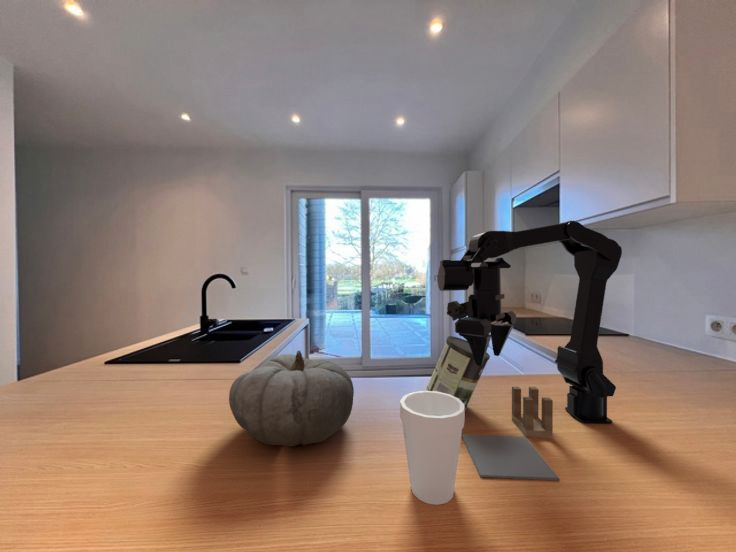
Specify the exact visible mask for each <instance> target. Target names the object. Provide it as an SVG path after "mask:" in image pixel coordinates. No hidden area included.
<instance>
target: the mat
mask: <svg viewBox="0 0 736 552" xmlns="http://www.w3.org/2000/svg"><path fill="white" fill-rule="evenodd" d="M461 438H462V440H463V442H464V444H465V446H466V448H467V451H468V453H469V455H470V457H472V458H471V460H472V459H473V460H472V462H473V463H474V466H476V467H475V469H476V468H477V469H476V471H477V472H478V475H479V478H483V477H493V478H492V479H509V478H512V479H513V478H514V479H515V480H536V479H537V481H538V480H540V481H542V480H544V481H560V477H559V476H558V474H557V473H556V472H555V471H554V469H552V467H551V466H550V465H549V464H548V462H547V461H545V459H544V457H542V456H541V454H540V453H539V452H538V451H537V450H536V449H535V446H533V444H531V442H530V441H529V440H528V438H527V437H525V435H523V436H522V435H519V436H518V435H491V434H490V435H489V434H487V435H485V434H461ZM494 477H495V478H494ZM496 477H497V478H496Z"/></svg>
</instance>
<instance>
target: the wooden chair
mask: <svg viewBox="0 0 736 552" xmlns="http://www.w3.org/2000/svg"><path fill="white" fill-rule="evenodd" d="M539 391H540V390H539V388H538V387H536V386H529V387H528V396H523V397H522V388H521V387H520V386H511V421H512V423H513V424H514V425H515V426H516V427H517V428H518V429H519V431H520V432H521V433H522V434H523V436H525V437H526V438H532V439H533V438H534V439H540V438H541V439H542V438H543V439H553V433H554V432H553V425H554V423H553V421H554V419H553V415H554V413H553V411H554V410H553V408H554V407H553V405H554V403H553V401H554V400H553V399H552V398H550V397H546V396H545V397H541V418H540V416H539V404H540V403H539V396H540V395H539ZM522 404H523V405H522Z"/></svg>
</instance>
